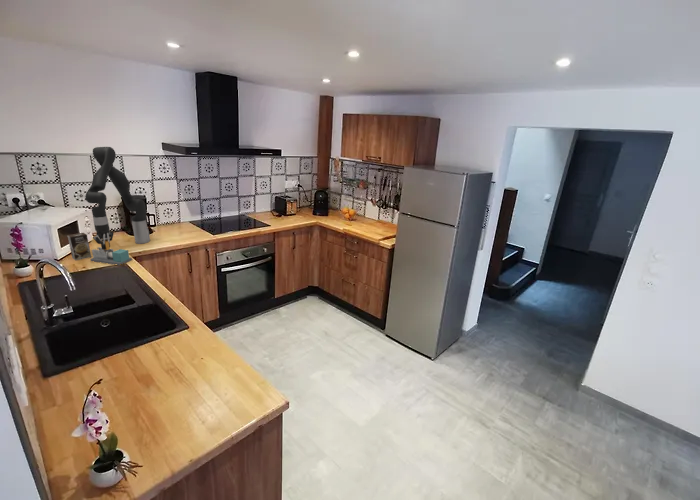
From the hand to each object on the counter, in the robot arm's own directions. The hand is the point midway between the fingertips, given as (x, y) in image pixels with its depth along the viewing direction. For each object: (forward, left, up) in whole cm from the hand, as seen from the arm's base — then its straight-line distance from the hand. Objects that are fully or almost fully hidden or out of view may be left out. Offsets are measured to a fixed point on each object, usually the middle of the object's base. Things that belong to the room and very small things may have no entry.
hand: (106, 248), depth 224 cm
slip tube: (0, +5, -6) cm, 7 cm away
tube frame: (0, +2, -8) cm, 9 cm away
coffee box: (+2, -19, -9) cm, 21 cm away
